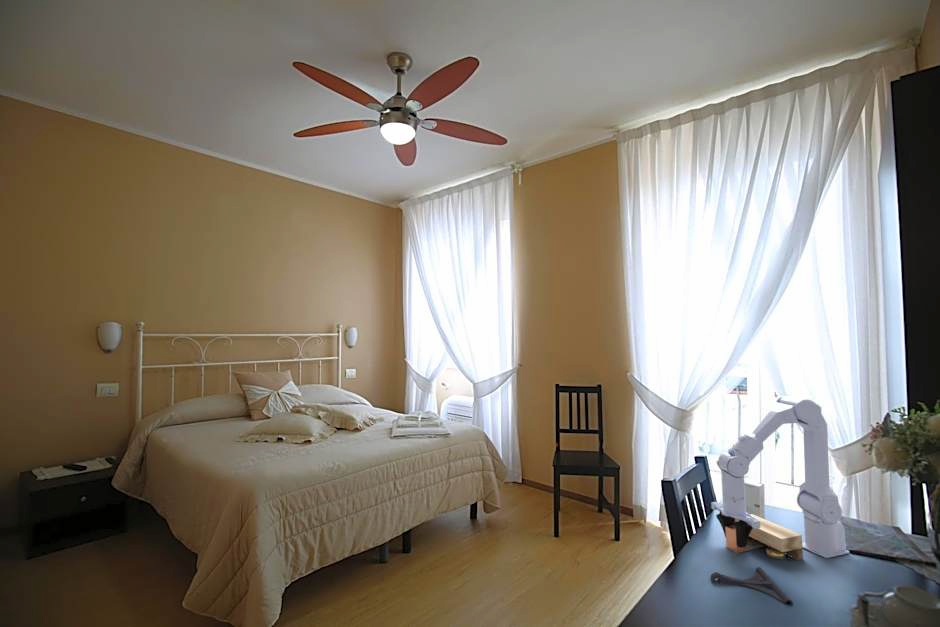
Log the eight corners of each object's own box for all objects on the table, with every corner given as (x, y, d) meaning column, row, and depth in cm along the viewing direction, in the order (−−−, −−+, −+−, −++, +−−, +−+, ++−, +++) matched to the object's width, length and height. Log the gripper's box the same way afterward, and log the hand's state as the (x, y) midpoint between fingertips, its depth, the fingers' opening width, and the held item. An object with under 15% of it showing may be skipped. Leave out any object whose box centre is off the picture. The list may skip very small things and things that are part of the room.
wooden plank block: (753, 535, 132) (752, 513, 132) (803, 559, 118) (801, 535, 118) (734, 538, 130) (733, 517, 130) (783, 563, 116) (781, 539, 116)
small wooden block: (756, 541, 128) (754, 521, 129) (767, 546, 125) (766, 525, 125) (726, 547, 125) (725, 526, 125) (736, 552, 122) (735, 531, 122)
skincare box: (740, 517, 145) (738, 481, 146) (746, 514, 148) (744, 478, 148) (760, 523, 140) (758, 486, 141) (766, 520, 143) (764, 483, 143)
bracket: (701, 568, 115) (701, 558, 115) (762, 573, 112) (762, 562, 112) (723, 601, 101) (722, 589, 101) (793, 608, 98) (792, 595, 98)
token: (771, 550, 123) (770, 544, 123) (788, 556, 119) (788, 550, 119) (763, 554, 121) (762, 549, 121) (780, 560, 117) (780, 555, 117)
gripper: (702, 489, 130) (704, 534, 130) (745, 506, 117) (748, 557, 116) (720, 486, 132) (722, 531, 132) (765, 503, 119) (767, 553, 118)
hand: (735, 543), depth 124 cm, fingers closed on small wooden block, 3 cm apart
